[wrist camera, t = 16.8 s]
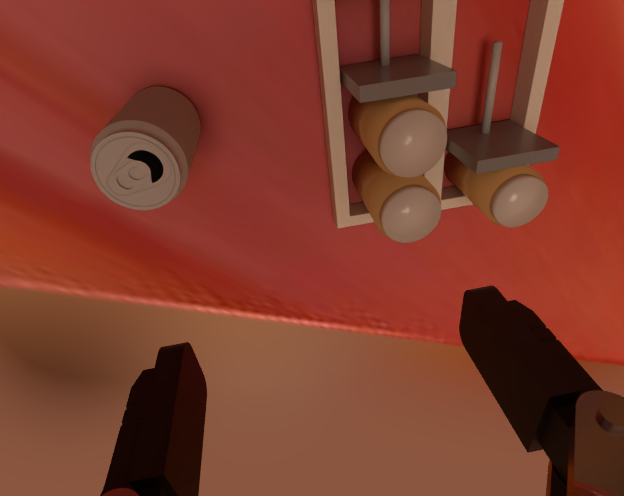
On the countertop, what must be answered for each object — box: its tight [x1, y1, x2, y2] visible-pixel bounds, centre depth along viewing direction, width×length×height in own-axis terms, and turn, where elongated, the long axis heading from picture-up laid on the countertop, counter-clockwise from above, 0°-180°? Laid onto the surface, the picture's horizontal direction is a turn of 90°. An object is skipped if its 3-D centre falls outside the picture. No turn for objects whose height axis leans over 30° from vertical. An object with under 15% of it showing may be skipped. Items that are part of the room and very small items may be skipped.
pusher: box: [446, 41, 560, 174], centre depth 35 cm, size 9×7×8 cm
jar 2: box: [352, 149, 441, 243], centre depth 38 cm, size 6×6×10 cm
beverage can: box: [90, 86, 201, 210], centre depth 31 cm, size 6×6×12 cm
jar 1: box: [348, 94, 447, 177], centre depth 34 cm, size 6×6×10 cm
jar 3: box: [444, 152, 548, 227], centre depth 39 cm, size 6×6×10 cm
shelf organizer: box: [312, 0, 564, 228], centre depth 35 cm, size 23×21×8 cm
